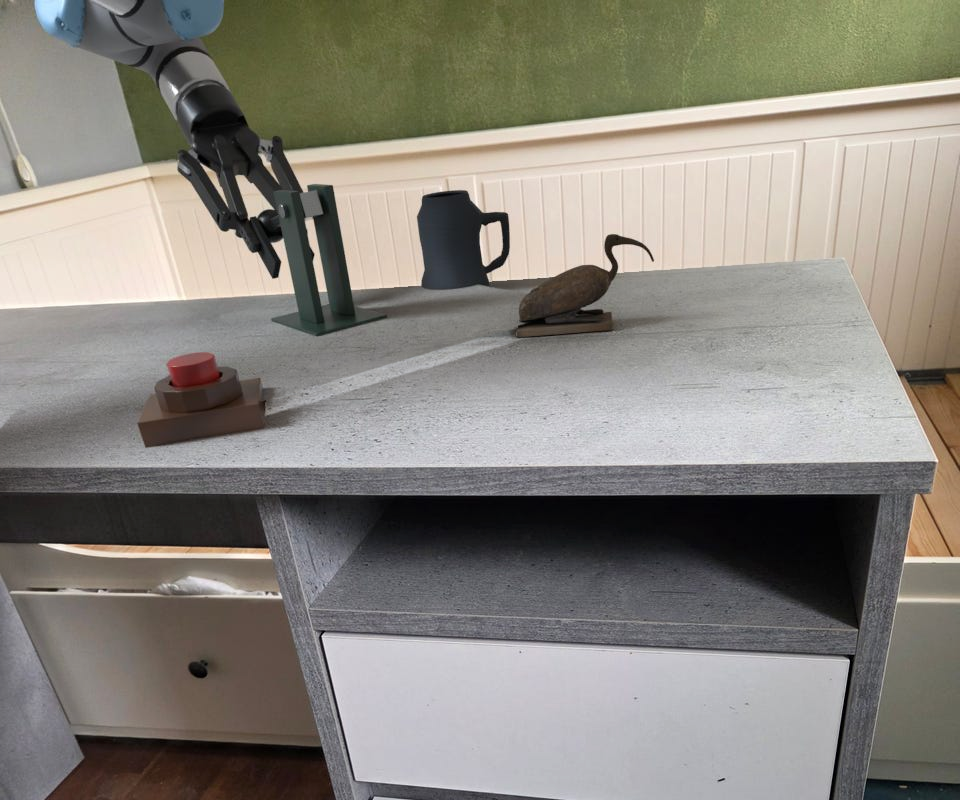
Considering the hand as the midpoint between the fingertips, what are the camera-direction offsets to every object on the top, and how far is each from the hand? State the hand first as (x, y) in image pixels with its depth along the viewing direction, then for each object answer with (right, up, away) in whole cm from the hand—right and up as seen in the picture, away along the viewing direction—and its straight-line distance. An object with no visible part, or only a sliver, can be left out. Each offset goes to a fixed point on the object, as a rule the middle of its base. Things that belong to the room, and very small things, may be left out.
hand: (293, 266), depth 103 cm
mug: (+20, 0, +9) cm, 22 cm away
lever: (+1, +2, -3) cm, 4 cm away
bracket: (+5, -8, -1) cm, 9 cm away
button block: (-2, -25, -26) cm, 36 cm away
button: (-2, -22, -28) cm, 35 cm away
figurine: (+33, -12, -12) cm, 37 cm away
